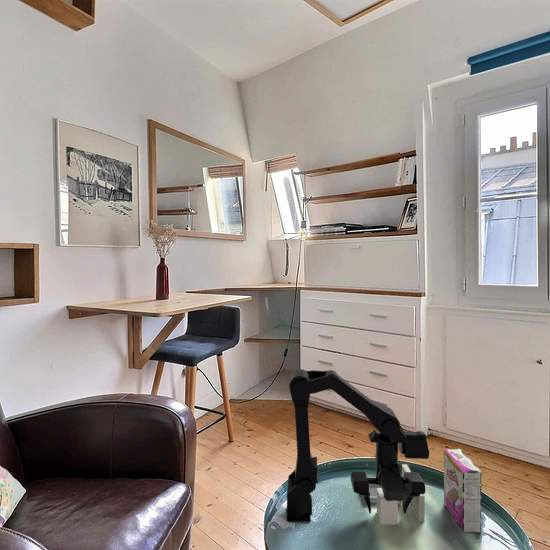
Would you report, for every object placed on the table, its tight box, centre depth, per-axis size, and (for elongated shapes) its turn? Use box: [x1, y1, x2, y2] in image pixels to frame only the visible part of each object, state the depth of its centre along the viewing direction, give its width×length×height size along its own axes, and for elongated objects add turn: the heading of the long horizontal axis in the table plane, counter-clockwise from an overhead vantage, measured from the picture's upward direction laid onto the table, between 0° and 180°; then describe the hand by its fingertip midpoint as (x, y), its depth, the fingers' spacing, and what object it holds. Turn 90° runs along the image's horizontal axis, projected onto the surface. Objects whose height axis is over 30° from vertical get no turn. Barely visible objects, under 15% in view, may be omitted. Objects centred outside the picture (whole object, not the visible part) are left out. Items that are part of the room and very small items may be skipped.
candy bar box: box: [443, 448, 482, 534], centre depth 98 cm, size 11×5×16 cm, turn 0°
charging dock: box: [361, 486, 401, 507], centre depth 109 cm, size 10×10×2 cm
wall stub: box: [401, 464, 426, 522], centre depth 105 cm, size 2×15×7 cm, turn 177°
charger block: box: [376, 488, 399, 525], centre depth 99 cm, size 4×4×7 cm
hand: (386, 512), depth 99 cm, fingers open, 9 cm apart
